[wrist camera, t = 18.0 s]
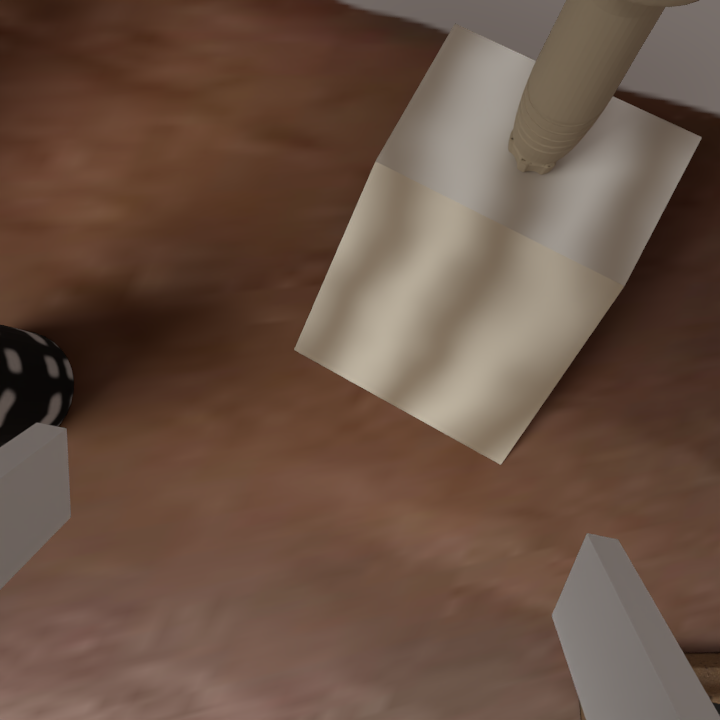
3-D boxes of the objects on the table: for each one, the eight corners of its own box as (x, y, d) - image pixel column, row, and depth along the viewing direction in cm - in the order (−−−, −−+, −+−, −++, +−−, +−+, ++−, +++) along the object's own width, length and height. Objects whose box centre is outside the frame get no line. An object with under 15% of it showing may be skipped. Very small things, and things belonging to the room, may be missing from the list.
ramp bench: (298, 353, 36) (274, 335, 29) (441, 103, 38) (455, 23, 30) (495, 462, 35) (526, 475, 27) (634, 196, 36) (701, 137, 29)
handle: (583, 105, 29) (783, -218, 14) (569, 209, 29) (764, -18, 14) (500, 95, 30) (612, -230, 15) (485, 197, 29) (586, -35, 14)
